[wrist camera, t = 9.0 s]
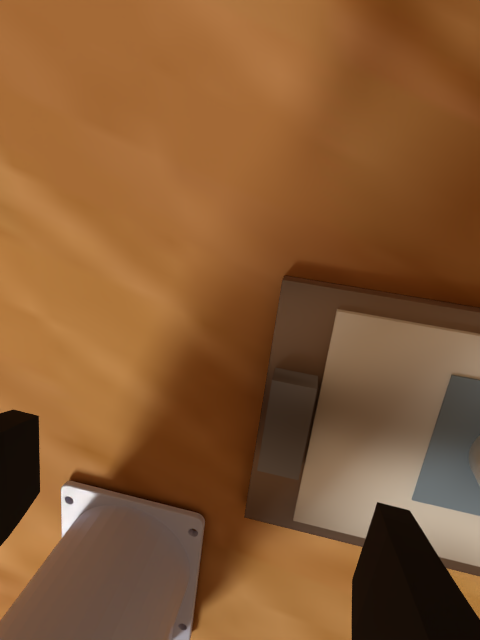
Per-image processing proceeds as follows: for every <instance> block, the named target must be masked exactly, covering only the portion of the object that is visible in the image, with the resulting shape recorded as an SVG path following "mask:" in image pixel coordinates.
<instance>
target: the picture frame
mask: <svg viewBox="0 0 480 640" xmlns="http://www.w3.org/2000/svg"><path fill="white" fill-rule="evenodd" d="M479 436H480V308H478V307H472V306H466V305H460V304H454V303H448V302H442V301H436V300H430V299H424V298H417V297H411V296H405V295H399V294H393V293H387V292H381V291H375V290H369V289H363V288H357V287H351V286H345V285H339V284H333V283H327V282H321V281H315V280H309V279H303V278H296V277H290V276H284V278H283V280H282V286H281V292H280V298H279V304H278V311H277V317H276V323H275V329H274V336H273V342H272V348H271V354H270V360H269V367H268V373H267V379H266V385H265V392H264V398H263V404H262V410H261V416H260V423H259V429H258V435H257V441H256V448H255V454H254V460H253V466H252V472H251V479H250V485H249V491H248V497H247V504H246V510H245V516H244V517H245V518H249V519H253V520H257V521H261V522H265V523H269V524H273V525H277V526H281V527H285V528H289V529H293V530H297V531H301V532H305V533H309V534H313V535H317V536H321V537H325V538H329V539H333V540H337V541H341V542H345V543H349V544H353V545H357V546H361V547H363V545H364V542H365V539H366V536H367V533H368V529H369V526H370V523H371V520H372V517H373V514H374V511H375V508H376V504H377V502H379V503H383V504H387V505H391V506H395V507H399V508H402V509H406V510H410V511H411V513H412V515H413V516H414V518H415V519H416V521H417V522H418V524H419V526H420V527H421V529H422V530H423V532H424V534H425V535H426V537H427V538H428V540H429V542H430V543H431V545H432V547H433V548H434V550H435V551H436V553H437V555H438V556H439V558H440V559H441V561H442V563H443V564H444V566H445V567H446V568H448V569H452V570H456V571H460V572H464V573H468V574H472V575H476V576H480V486H479V484H478V482H477V480H476V478H475V476H474V474H473V472H472V470H471V467H470V464H469V451H470V448H471V446H472V444H473V443H474V441H475V440H476V439H477V438H478V437H479Z"/></svg>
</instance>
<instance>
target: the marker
mask: <svg viewBox="0 0 480 640" xmlns="http://www.w3.org/2000/svg"><path fill="white" fill-rule="evenodd" d="M469 464H470V467H471V470H472V472H473V474H474V476H475V478H476V480H477V482H478V484H479V486H480V436H479V437H478V438H477V439H476V440H475V441H474V443H473V444H472V446H471V448H470V451H469Z"/></svg>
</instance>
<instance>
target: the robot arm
mask: <svg viewBox="0 0 480 640" xmlns="http://www.w3.org/2000/svg"><path fill="white" fill-rule="evenodd" d="M39 493H40V464H39V416H37V415H33V414H29V413H25V412H21V411H17V410H10V411H7V412H4V413H0V546H1V545H2V544H3V542H4V541H5V540H6V539H7V538H8V537H9V535H10V534H11V533H12V531H13V530H14V529H15V527H16V526H17V524H18V523H19V522H20V520H21V519H22V517H23V516H24V515H25V513H26V512H27V510H28V509H29V507H30V506H31V504H32V503H33V501H34V500H35V498H36V497H37V495H38V494H39ZM70 497H71V498H70ZM61 516H62V539H61V540H60V541H59V543H58V544H57V545H56V547H55V548H54V549H53V551H52V552H51V553H50V555H49V556H48V557H47V559H46V560H45V561H44V563H43V564H42V565H41V567H40V568H39V569H38V571H37V572H36V573H35V575H34V576H33V578H32V579H31V580H30V582H29V583H28V584H27V586H26V587H25V588H24V590H23V591H22V592H21V594H20V595H19V596H18V598H17V599H16V600H15V602H14V603H13V604H12V606H11V607H10V608H9V610H8V611H7V612H6V614H5V615H4V616H3V618H2V619H1V620H0V640H190V638H191V633H192V625H193V617H194V609H195V601H196V592H197V584H198V576H199V568H200V560H201V552H202V543H203V535H204V527H205V519H204V517H203V516H202V515H201V514H199V513H196V512H192V511H188V510H184V509H180V508H176V507H172V506H169V505H165V504H161V503H157V502H153V501H149V500H145V499H141V498H137V497H133V496H129V495H125V494H121V493H117V492H113V491H109V490H106V489H102V488H98V487H94V486H90V485H86V484H82V483H78V482H74V481H67V482H66V483H65V484H64V485H63V486H62V488H61ZM192 529H195V530H196V531H194V530H192ZM352 640H480V619H479V618H478V616H477V615H476V613H475V612H474V610H473V609H472V607H471V606H470V604H469V603H468V601H467V600H466V598H465V597H464V595H463V594H462V592H461V591H460V589H459V588H458V586H457V585H456V583H455V582H454V580H453V578H452V577H451V575H450V574H449V572H448V570H447V569H446V567H445V566H444V564H443V563H442V561H441V559H440V558H439V556H438V555H437V553H436V551H435V550H434V548H433V547H432V545H431V543H430V542H429V540H428V538H427V537H426V535H425V534H424V532H423V530H422V529H421V527H420V526H419V524H418V522H417V521H416V519H415V518H414V516H413V515H412V513H411V511H410V510H406V509H402V508H399V507H395V506H391V505H387V504H383V503H379V502H377V504H376V508H375V511H374V514H373V517H372V520H371V523H370V526H369V529H368V533H367V536H366V539H365V542H364V545H363V548H362V551H361V554H360V557H359V561H358V564H357V567H356V570H355V573H354V576H353V579H352Z"/></svg>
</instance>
